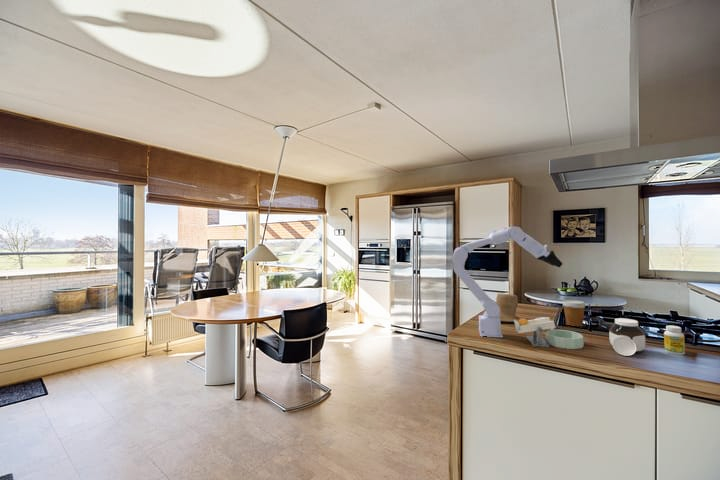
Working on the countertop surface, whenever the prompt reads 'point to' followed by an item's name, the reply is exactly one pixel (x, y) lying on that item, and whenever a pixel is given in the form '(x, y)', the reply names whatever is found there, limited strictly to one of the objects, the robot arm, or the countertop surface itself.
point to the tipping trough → (535, 325)
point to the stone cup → (507, 307)
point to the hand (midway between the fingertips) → (558, 264)
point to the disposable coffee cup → (574, 312)
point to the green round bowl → (564, 339)
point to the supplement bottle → (674, 340)
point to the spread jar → (627, 337)
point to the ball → (522, 322)
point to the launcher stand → (538, 339)
